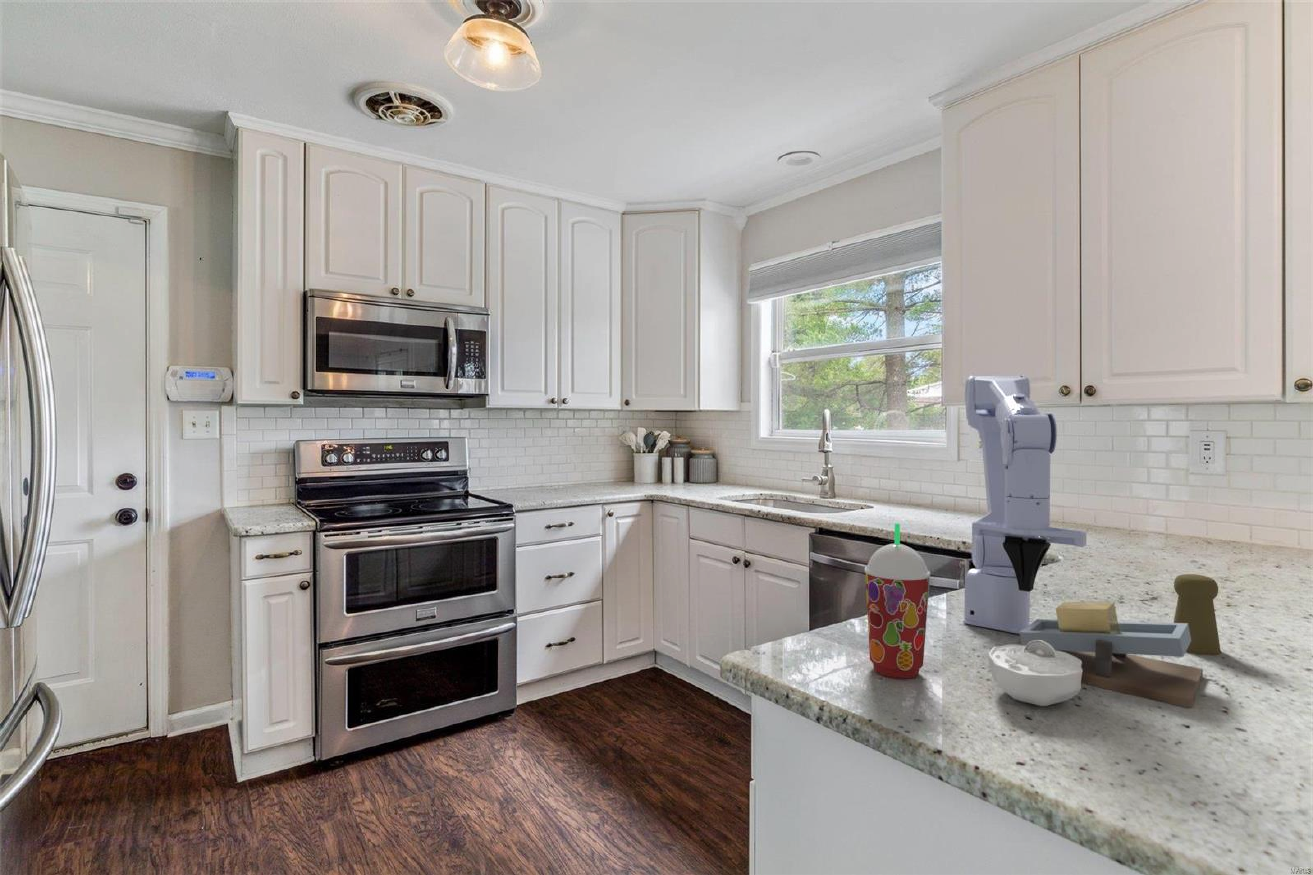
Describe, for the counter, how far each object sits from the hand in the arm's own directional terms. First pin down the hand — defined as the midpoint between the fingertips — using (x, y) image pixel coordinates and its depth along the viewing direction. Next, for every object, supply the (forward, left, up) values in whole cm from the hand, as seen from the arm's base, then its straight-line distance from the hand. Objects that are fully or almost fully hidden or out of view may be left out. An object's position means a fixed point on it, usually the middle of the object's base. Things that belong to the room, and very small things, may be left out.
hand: (1026, 590), depth 96 cm
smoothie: (-11, -20, -10) cm, 25 cm away
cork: (+17, +21, -10) cm, 29 cm away
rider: (+8, 0, -5) cm, 9 cm away
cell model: (+5, -17, -10) cm, 20 cm away
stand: (+10, 0, -9) cm, 14 cm away
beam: (+10, 0, -6) cm, 11 cm away
